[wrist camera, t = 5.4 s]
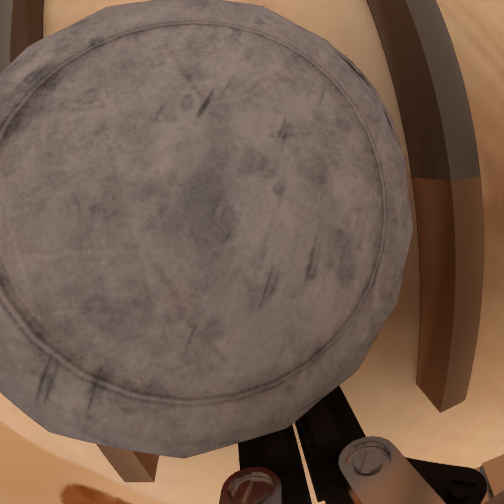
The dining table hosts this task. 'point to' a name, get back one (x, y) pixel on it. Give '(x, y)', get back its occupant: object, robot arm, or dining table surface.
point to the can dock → (424, 183)
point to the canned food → (191, 225)
